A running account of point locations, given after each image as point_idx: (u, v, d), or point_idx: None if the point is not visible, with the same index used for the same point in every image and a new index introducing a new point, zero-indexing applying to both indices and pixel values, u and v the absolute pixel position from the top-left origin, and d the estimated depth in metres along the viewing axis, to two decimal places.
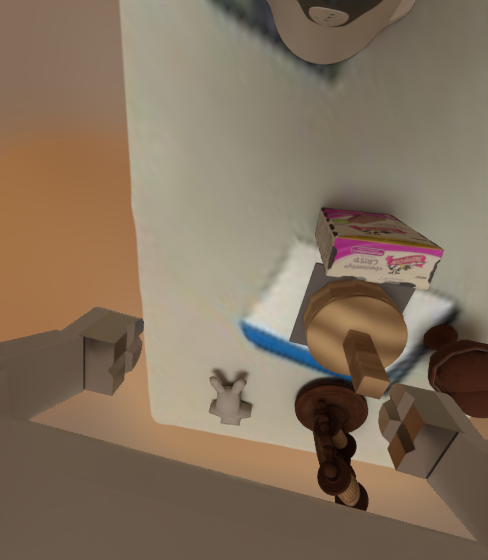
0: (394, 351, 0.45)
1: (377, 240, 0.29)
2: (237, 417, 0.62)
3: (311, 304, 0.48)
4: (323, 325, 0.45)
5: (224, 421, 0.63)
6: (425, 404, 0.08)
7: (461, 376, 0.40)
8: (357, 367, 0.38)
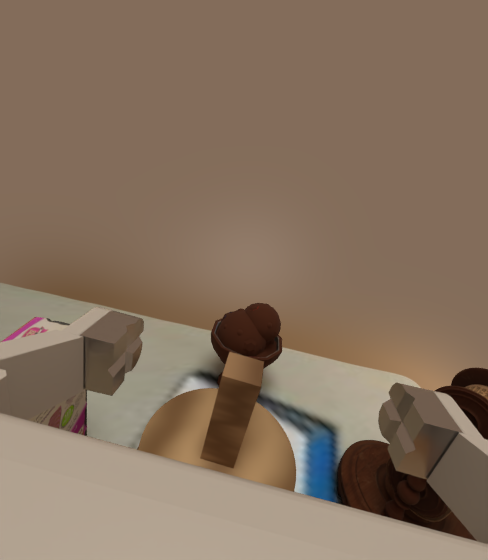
0: None
1: None
2: None
3: None
4: None
5: None
6: (425, 404, 0.08)
7: (238, 330, 0.38)
8: (227, 403, 0.23)
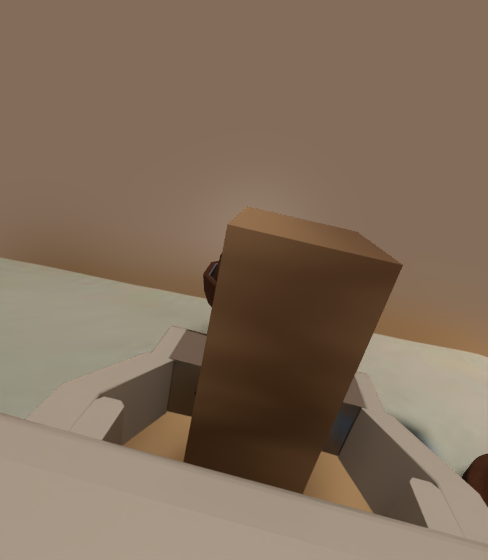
0: None
1: None
2: None
3: None
4: None
5: None
6: None
7: None
8: (250, 354, 0.06)
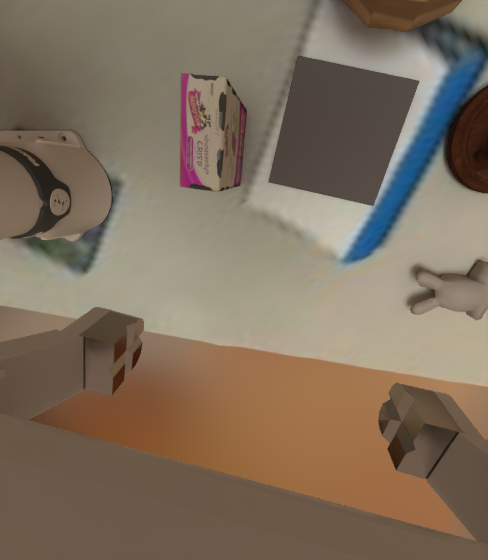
0: None
1: (180, 144, 0.31)
2: None
3: (372, 13, 0.28)
4: None
5: None
6: (425, 404, 0.08)
7: None
8: None
